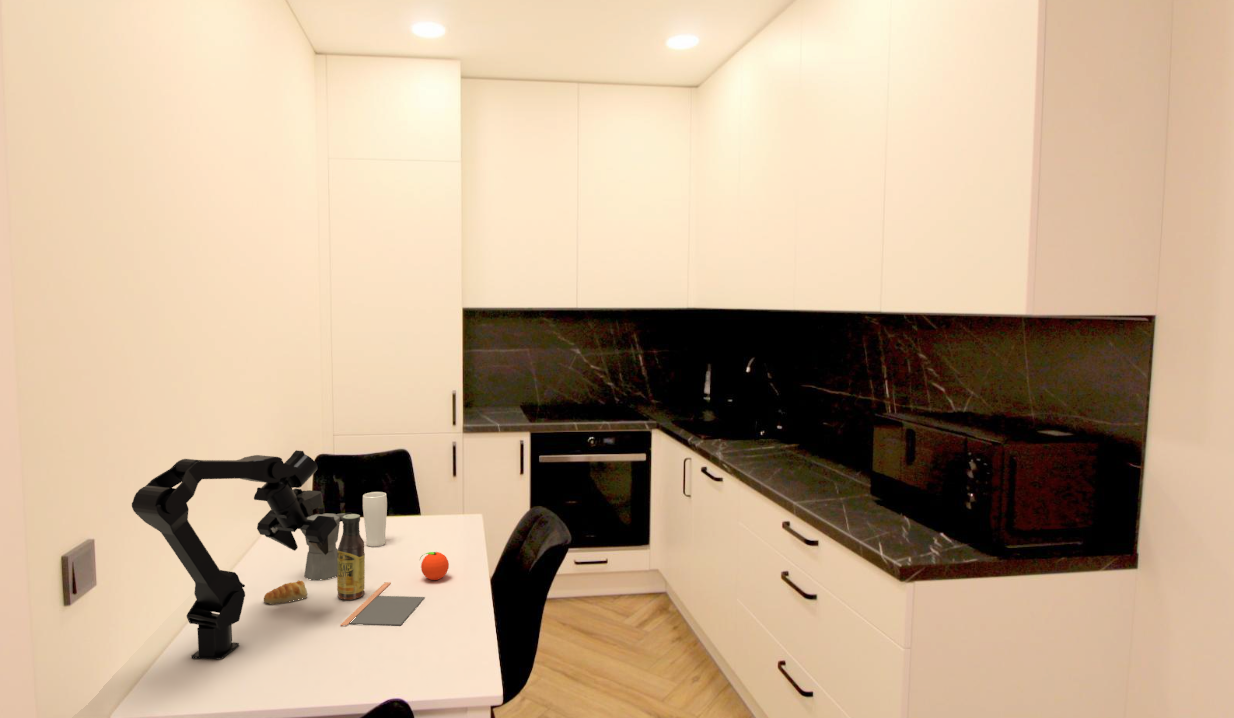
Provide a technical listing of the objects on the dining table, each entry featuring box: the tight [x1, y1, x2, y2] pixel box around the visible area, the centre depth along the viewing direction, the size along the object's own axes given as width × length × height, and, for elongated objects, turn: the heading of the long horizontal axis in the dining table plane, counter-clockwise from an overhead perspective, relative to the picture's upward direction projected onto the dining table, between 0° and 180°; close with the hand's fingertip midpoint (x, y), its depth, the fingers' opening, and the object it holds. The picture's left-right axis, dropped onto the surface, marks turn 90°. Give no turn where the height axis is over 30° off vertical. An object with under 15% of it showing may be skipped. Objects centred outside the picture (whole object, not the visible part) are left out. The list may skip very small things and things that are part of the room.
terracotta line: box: [340, 581, 392, 626], centre depth 180 cm, size 26×2×1 cm, turn 176°
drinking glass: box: [362, 491, 388, 548], centre depth 224 cm, size 7×7×15 cm
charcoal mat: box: [349, 595, 425, 627], centre depth 175 cm, size 16×12×1 cm
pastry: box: [263, 580, 308, 605], centre depth 183 cm, size 9×7×4 cm
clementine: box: [419, 551, 450, 581], centre depth 196 cm, size 8×7×7 cm
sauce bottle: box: [336, 513, 366, 601], centre depth 184 cm, size 6×6×20 cm
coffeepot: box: [299, 506, 353, 581], centre depth 200 cm, size 15×9×18 cm, turn 116°
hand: (311, 551), depth 179 cm, fingers open, 9 cm apart
